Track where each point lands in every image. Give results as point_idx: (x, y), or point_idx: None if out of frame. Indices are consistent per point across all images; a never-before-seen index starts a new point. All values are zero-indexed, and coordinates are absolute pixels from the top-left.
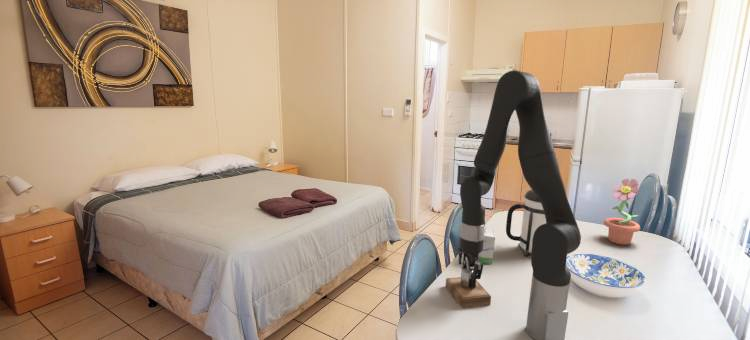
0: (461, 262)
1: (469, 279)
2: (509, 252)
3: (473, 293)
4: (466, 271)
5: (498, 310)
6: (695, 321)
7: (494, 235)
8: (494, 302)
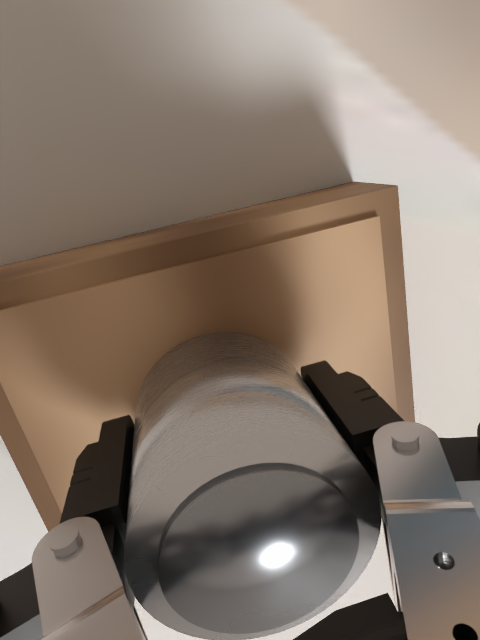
0: (430, 513)
1: (95, 495)
2: None
3: (83, 435)
4: (204, 518)
5: (13, 548)
6: None
7: None
8: None
